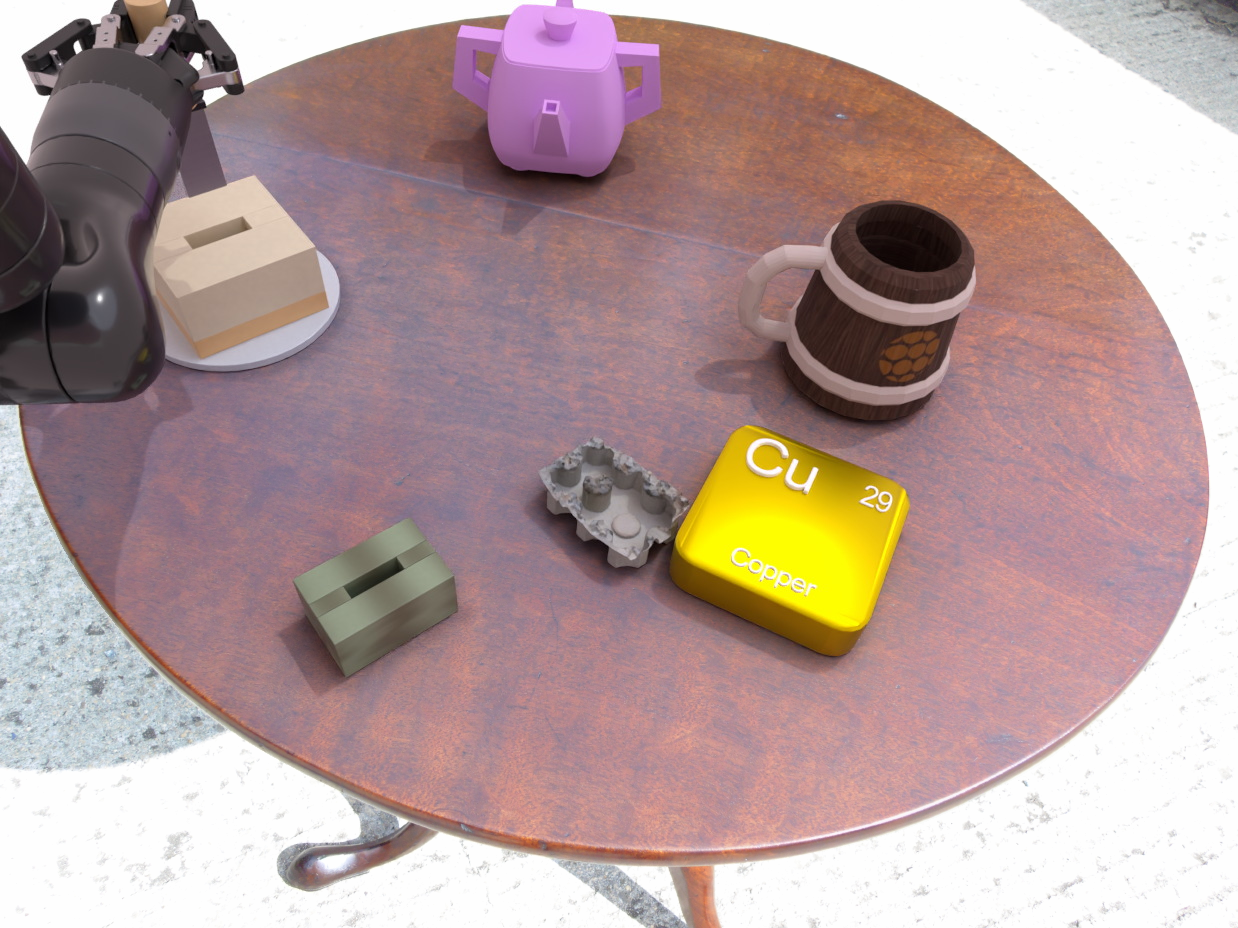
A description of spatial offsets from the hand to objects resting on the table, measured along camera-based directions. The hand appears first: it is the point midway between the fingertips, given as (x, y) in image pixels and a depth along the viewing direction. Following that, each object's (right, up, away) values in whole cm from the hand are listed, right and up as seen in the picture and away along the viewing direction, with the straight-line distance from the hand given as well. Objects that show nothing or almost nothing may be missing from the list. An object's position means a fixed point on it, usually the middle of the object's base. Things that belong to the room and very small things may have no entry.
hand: (159, 5), depth 66 cm
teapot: (+26, +3, +38) cm, 46 cm away
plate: (-2, -18, +19) cm, 26 cm away
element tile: (+46, -40, +7) cm, 61 cm away
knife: (-1, -11, +9) cm, 14 cm away
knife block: (+16, -44, 0) cm, 47 cm away
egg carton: (+32, -37, +7) cm, 50 cm away
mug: (+53, -24, +20) cm, 61 cm away
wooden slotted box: (-2, -18, +19) cm, 26 cm away
